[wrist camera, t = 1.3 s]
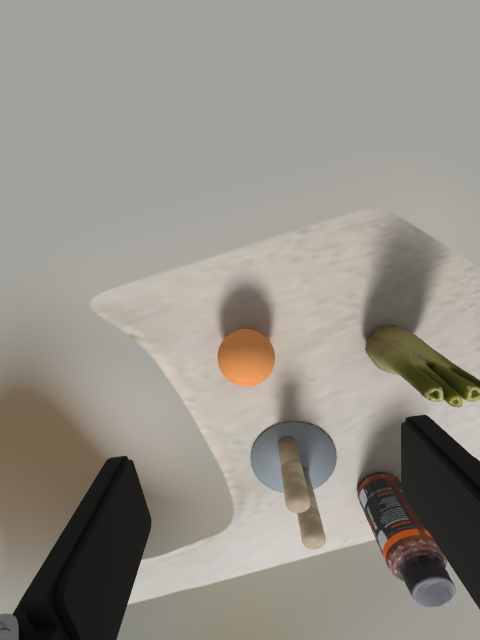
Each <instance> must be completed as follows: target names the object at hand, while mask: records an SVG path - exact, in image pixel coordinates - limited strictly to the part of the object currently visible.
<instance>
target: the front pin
mask: <svg viewBox="0 0 480 640" xmlns="http://www.w3.org/2000/svg"><path fill="white" fill-rule="evenodd" d="M277 445H278V452H279V459H280V467H281V474H282V481H283V488H284V495H285V503H286V507H287V509H288V510H290V511H291V512H294V513H302V512H305V511H306V510H308V508H309V507H310V498H309V494H308V490H307V486H306V481H305V477H304V473H303V469H302V465H301V460H300V456H299V452H298V448H297V443H296V441H295V439H294V438H292V437H290V436H285V437H282V438H280V439H279V441H278V444H277Z"/></svg>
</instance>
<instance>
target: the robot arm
mask: <svg viewBox="0 0 480 640" xmlns="http://www.w3.org/2000/svg"><path fill="white" fill-rule="evenodd" d="M401 485H402V490H403V493H404V495H405V497H406V499H407V500H408V502H409V503H410V505H411V506H412V508H413V509H414V511H415V512H416V514H417V515H418V517H419V518H420V520H421V521H422V523H423V524H424V526H425V527H426V529H427V530H428V532H429V533H430V535H431V536H432V538H433V539H434V541H435V542H436V544H437V545H438V547H439V548H440V550H441V551H442V553H443V554H444V556H445V558H446V559H447V560H448V562H449V563H450V565H451V567H452V568H453V569H454V571H455V573H456V574H457V576H458V577H459V579H460V580H461V582H462V583H463V584H464V586H465V588H466V589H467V591H468V592H469V594H470V595H471V597H472V598H473V600H474V601H475V603H476V604H477V606H478V607H479V609H480V461H479V460H477V459H476V458H475V457H473V456H472V455H471V454H469V453H468V452H467V451H466V450H465V449H464V448H463V447H462V446H461V445H460V444H458V443H457V442H456V441H455V440H454V439H453V438H452V437H451V436H450V435H448V434H447V433H446V432H445V431H444V430H443V429H442V428H441V427H440V426H438V425H437V424H436V423H435V422H434V421H433V420H432V419H431V418H430V417H428V416H427V415H419V416H412V417H407V418H406V420H405V422H403V423H402V424H401ZM150 529H151V516H150V513H149V510H148V507H147V504H146V500H145V497H144V494H143V491H142V488H141V485H140V482H139V478H138V475H137V472H136V469H135V466H134V463H133V461H132V460H129V459H128V458H127V456H122V457H114V458H109V459H108V460H107V461H106V462H105V464H104V466H103V467H102V469H101V470H100V472H99V474H98V475H97V477H96V479H95V480H94V482H93V483H92V485H91V487H90V488H89V490H88V492H87V493H86V495H85V497H84V498H83V500H82V501H81V503H80V505H79V506H78V508H77V509H76V511H75V513H74V514H73V516H72V518H71V519H70V521H69V523H68V524H67V526H66V527H65V529H64V531H63V532H62V534H61V535H60V537H59V539H58V540H57V542H56V544H55V545H54V547H53V549H52V550H51V552H50V553H49V555H48V557H47V558H46V560H45V562H44V563H43V565H42V566H41V568H40V570H39V571H38V573H37V575H36V576H35V578H34V579H33V581H32V583H31V585H30V586H29V588H28V589H27V591H26V592H25V594H24V596H23V597H22V599H21V601H20V602H19V605H18V606H17V608H16V609H15V611H14V613H13V614H0V640H116V639H117V636H118V632H119V629H120V626H121V623H122V620H123V616H124V613H125V610H126V607H127V604H128V600H129V597H130V594H131V591H132V587H133V584H134V581H135V578H136V575H137V571H138V568H139V565H140V562H141V559H142V555H143V552H144V549H145V546H146V542H147V539H148V536H149V533H150Z"/></svg>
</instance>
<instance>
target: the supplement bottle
mask: <svg viewBox="0 0 480 640" xmlns="http://www.w3.org/2000/svg"><path fill="white" fill-rule="evenodd" d="M358 498H359V501H360V504H361V506H362V508H363V511H364V513H365V515H366V518H367V520H368V522H369V524H370V526H371V529H372V531H373V534H374V536H375V538H376V541H377V543H378V545H379V547H380V550H381V552H382V554H383V557H384V559H385V561H386V563H387V565H388V567H389V569H390V571H391V572H392V573H393V574H394V575H395V576H396V577H397V578H399V579H400V580H402V581H404V582H405V583H406V586H407V588H408V589H409V591H410V593H411V595H412V597H413V599H414V600H415V601H416V603H418V604H420V605H422V606H425V607H438V606H442V605H444V604H446V603H448V602H449V601H450V600H451V599H452V598H453V597H454V595H455V592H456V589H455V585H454V583H453V582H452V580H451V579H450V577H449V574H448V572H447V571H446V570H445V567H446V563H447V559H446V558H445V556H444V554H443V553H442V551H441V550H440V548H439V547H438V545H437V544H436V542H435V541H434V539H433V538H432V536H431V535H430V533H429V532H428V530H427V529H426V527H425V526H424V524H423V523H422V521H421V520H420V518H419V517H418V515H417V514H416V512H415V511H414V509H413V508H412V506H411V505H410V503H409V502H408V500H407V499H406V497H405V495H404V493H403V490H402V485H401V482H400V481H399V480H398V479H397V478H396V477H394V476H392V475H389V474H383V473H382V474H381V473H380V474H374V475H372V476H369V477H367V478H366V479H365V480H364V481H363V482H362V483H361V484H360V486H359V488H358Z"/></svg>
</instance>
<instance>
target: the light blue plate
mask: <svg viewBox="0 0 480 640" xmlns="http://www.w3.org/2000/svg"><path fill="white" fill-rule="evenodd" d="M285 436H290V437H292V438H294V439H295V441H296V443H297V448H298V452H299V456H300V460H301V465H302V467H303V468H305V469H307V470H308V472H309V476H310V480H311V484H312V488H313V489H316V488H317V487H319V486H321V485H322V484H323V483H325V482H326V481H327V480H328V479H329V477H330V476H331V475H332V473H333V471H334V469H335V466H336V459H337V456H336V450H335V447H334V444H333V442H332V441H331V439H330V438H329V436H328V435H327V434H326V433H325V432H323V431H322V430H321V429H319V428H318V427H315V426H313V425H311V424H308V423H303V422H285V423H281V424H278V425H275V426H273V427H271V428H269V429H267V430H266V431H265V432H263V433H262V434H261V435H260V436H259V437H258V439H257V440H256V442H255V443H254V446H253V448H252V452H251V465H252V469H253V471H254V473H255V475H256V476H257V478H258V479H259V480H260V481H261V482H262V483H263V484H264V485H266V486H267V487H269V488H270V489H273V490H275V491H278V492H281V493H284V488H283V481H282V474H281V467H280V459H279V452H278V445H277V444H278V441H279V439H280V438H282V437H285Z"/></svg>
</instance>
